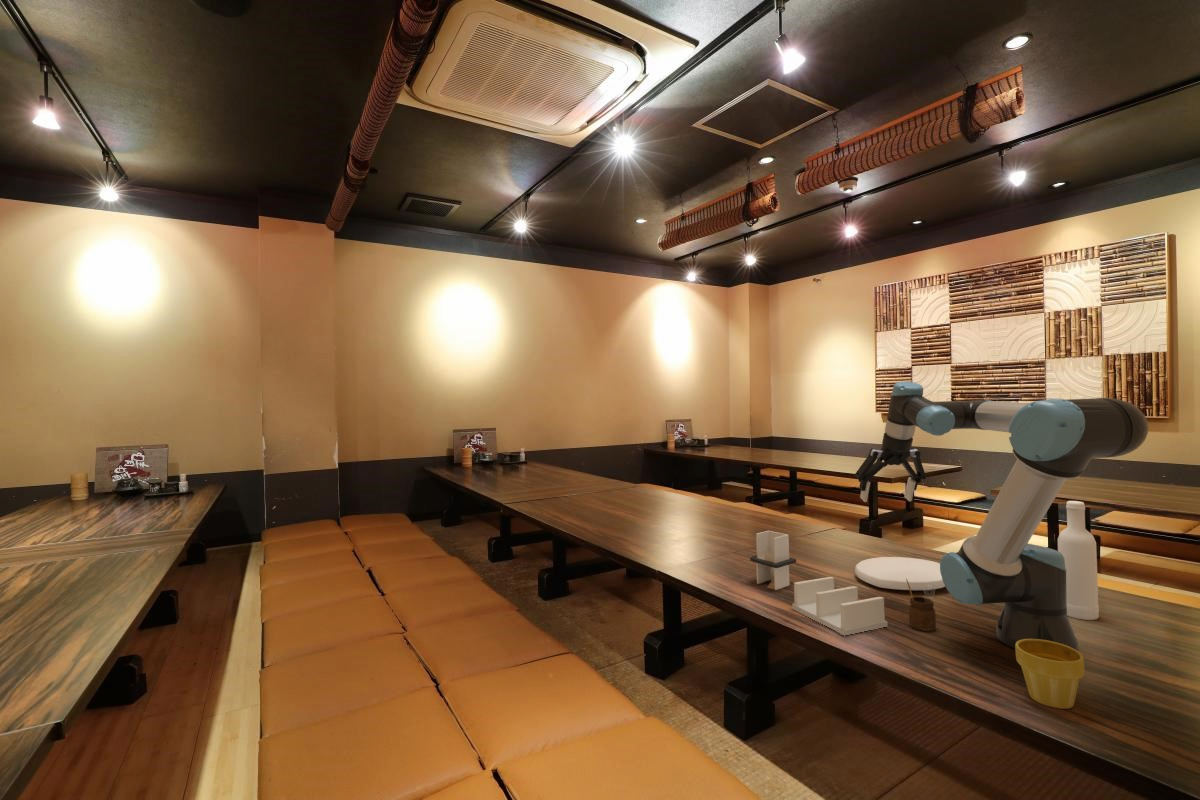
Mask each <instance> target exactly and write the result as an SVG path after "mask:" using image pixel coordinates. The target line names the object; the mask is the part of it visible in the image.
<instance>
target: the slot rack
mask: <svg viewBox="0 0 1200 800" xmlns="http://www.w3.org/2000/svg"><path fill="white" fill-rule="evenodd" d="M858 591H859V590H858V586H854V585H852V586H846V587H841V588H836V589H835V578H834V577H833V576H827V577H821V578H815V579H808V580H802V581H797V582H796V581H795V582H793V593H794V597H793V599H794V602H793V603H792V604H791V605H792V607H791V608H792V610H793V611H795V612H797V613H799V614H801V615H803V616H805V617H806V616H807V617H806V618H808V617H809V618H808V619H810V618H811V619H810V620H812V619H813V621H814V620H815V622H816V621H817V622H816V623H818V622H819V623H818V624H820V623H821V624H820V625H822V624H823V625H822V626H824V625H825V626H827V627H829V628H831V629H833V630H835V631H837V632H839V633H840V634H839V633H838V634H839V635H841V634H842V635H844V636H843V637H846V636H845V635H849V634H854V635H856V634H855V633H859V632H863V633H865V632H864V631H868V630H873V629H878V628H882V629H884V628H883V627H887V626H889V625H888V621H887V620H886V619H885V597H882V596H876V597H871V598H870V597H869V598H863V599H860V600H859V594H858V593H859V592H858ZM825 626H824V627H825ZM827 627H826V628H827ZM829 628H828V629H829ZM887 628H888V627H887ZM831 629H830V630H831ZM833 630H832V631H833ZM878 630H879V629H878ZM835 631H834V632H835ZM873 631H874V630H873ZM837 632H836V633H837ZM868 632H869V631H868ZM859 634H860V633H859ZM842 635H841V636H842ZM849 636H850V635H849Z"/></svg>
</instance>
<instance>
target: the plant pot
mask: <svg viewBox="0 0 1200 800" xmlns="http://www.w3.org/2000/svg"><path fill="white" fill-rule="evenodd" d="M1014 649H1015V651H1014V652H1015V658H1016V659H1015V660H1016V662H1017V663H1018V664H1019V665H1020V666H1021V671H1022V673H1023V677H1024V680H1025V684H1026V688H1027V692H1028V695H1029V697H1030V698H1031V699H1032V700H1033V701H1035V702H1037V703H1039V704H1041V705H1043V706H1046V707H1050V708H1054V709H1062V710H1063V709H1064V710H1065V709H1067V710H1068V709H1071V708H1073V707H1074V705H1075V701H1076V696H1077V692H1078V687H1079V683H1080V679H1081V678H1083V677H1084V675H1085V658H1084V655H1083V654H1082V653H1081V651H1079V650H1078V651H1077V650H1075V649H1074V648H1071V647H1069V646H1067V645H1064V644H1061V643H1057V642H1053V641H1048V640H1041V639H1022V640H1019V641H1017V642H1016V644H1015V648H1014Z"/></svg>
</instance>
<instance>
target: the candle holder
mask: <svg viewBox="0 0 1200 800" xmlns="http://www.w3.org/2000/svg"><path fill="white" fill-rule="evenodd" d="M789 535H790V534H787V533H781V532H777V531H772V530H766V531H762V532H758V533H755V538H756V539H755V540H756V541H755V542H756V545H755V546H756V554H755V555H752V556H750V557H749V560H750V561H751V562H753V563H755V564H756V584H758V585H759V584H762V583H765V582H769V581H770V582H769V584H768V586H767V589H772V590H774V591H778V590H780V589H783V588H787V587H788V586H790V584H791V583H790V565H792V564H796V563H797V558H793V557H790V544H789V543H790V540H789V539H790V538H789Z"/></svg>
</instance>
